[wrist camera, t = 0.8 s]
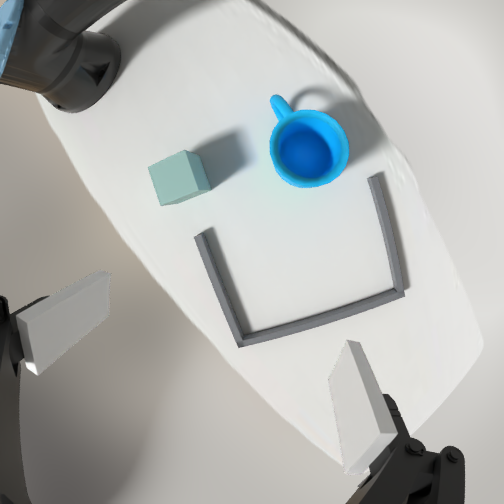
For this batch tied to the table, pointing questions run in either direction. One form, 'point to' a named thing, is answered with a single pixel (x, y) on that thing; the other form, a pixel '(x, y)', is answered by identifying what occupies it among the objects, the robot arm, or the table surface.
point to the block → (179, 178)
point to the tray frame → (322, 318)
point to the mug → (307, 146)
